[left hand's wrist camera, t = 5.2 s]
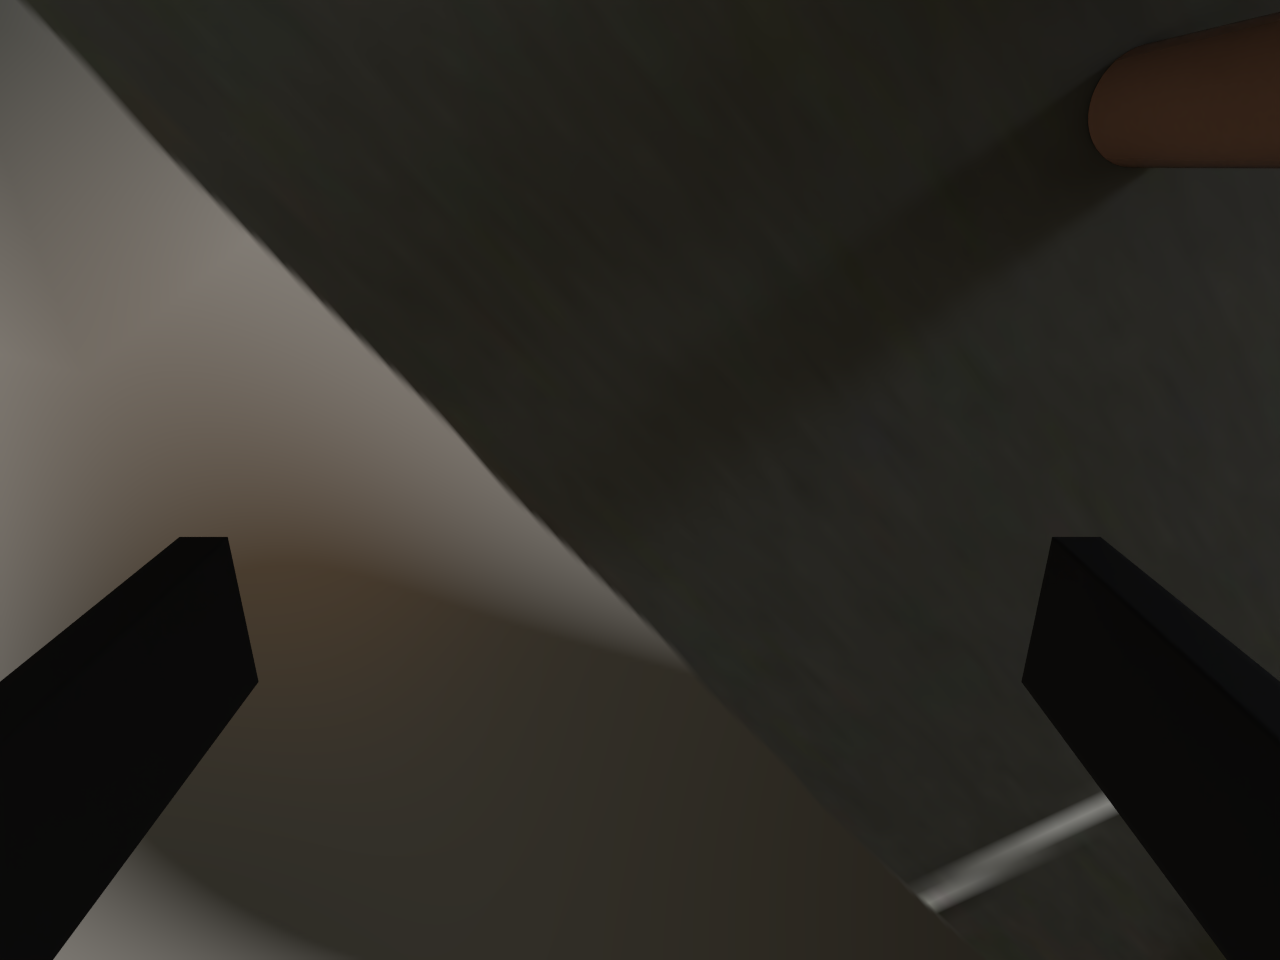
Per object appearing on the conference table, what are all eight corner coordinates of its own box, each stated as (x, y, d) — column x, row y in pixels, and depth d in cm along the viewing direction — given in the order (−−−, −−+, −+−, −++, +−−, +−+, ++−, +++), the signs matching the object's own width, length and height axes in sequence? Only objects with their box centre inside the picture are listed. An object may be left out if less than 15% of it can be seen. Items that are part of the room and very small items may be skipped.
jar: (1065, 105, 36) (1352, 64, 21) (1166, 14, 34) (1545, -95, 20) (1126, 192, 37) (1434, 209, 23) (1225, 108, 36) (1620, 69, 21)
